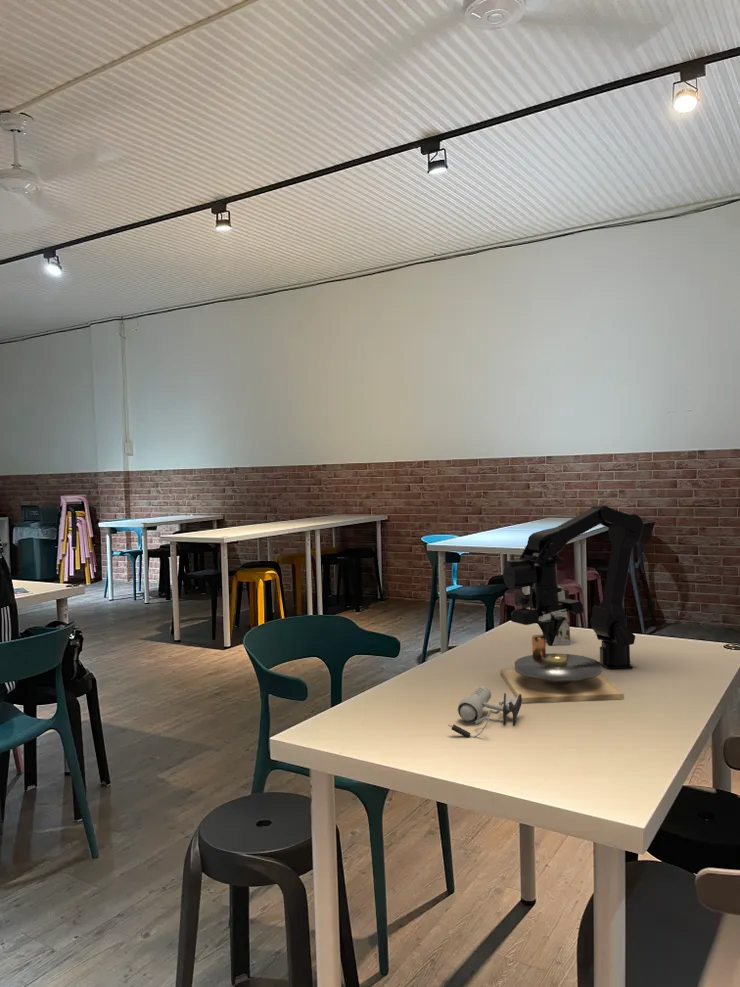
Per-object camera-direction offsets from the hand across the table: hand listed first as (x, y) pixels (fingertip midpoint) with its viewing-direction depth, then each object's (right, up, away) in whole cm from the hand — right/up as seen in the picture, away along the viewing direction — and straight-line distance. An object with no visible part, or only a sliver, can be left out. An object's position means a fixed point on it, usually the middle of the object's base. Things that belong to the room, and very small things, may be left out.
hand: (549, 645), depth 181 cm
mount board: (0, -8, -8) cm, 11 cm away
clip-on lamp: (-21, -10, -32) cm, 40 cm away
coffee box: (+10, -6, +35) cm, 37 cm away
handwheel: (0, -4, -8) cm, 9 cm away
